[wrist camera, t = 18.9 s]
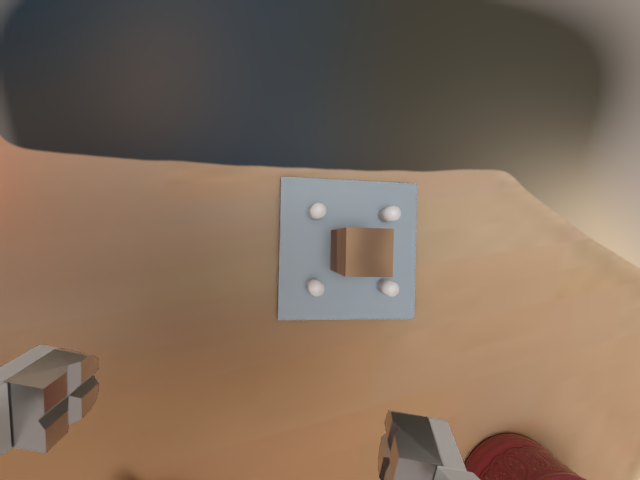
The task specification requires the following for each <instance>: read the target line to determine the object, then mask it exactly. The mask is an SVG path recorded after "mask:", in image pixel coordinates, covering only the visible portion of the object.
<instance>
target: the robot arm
mask: <svg viewBox="0 0 640 480" xmlns="http://www.w3.org/2000/svg"><path fill="white" fill-rule="evenodd" d="M98 369H99V363H98V358H97V357H96V356H95V355H93V354H88V353H83V352H78V351H74V350H69V349H64V348H58V347H54V346H49V345H38V346H36V347H34V348H33V349H31V350H29V351H27V352H26V353H24V354H22V355H20V356H19V357H17V358H15V359H13V360H12V361H10V362H8V363H7V364H5V365H3V366H1V367H0V455H2V454H4V453H6V452H8V451H10V450H11V449H12V447H13V448H19V449H25V450H31V451H37V452H43V453H47V452H48V451H49V450H50V449H51V448H52V447H53V446H54V445H55V444H56V443H57V442H58V441H59V440H60V439H61V438H62V437H63V436H65V435H66V434H67V433H68V429H69V424H72V423H74V422H76V421H79V420H81V419H82V418H83V417H84V416H85V415H86V414H87V413H88V412H89V411H90V410H91V408H92V406H93V405H94V403H95V401H96V399H97V395H98V391H99V383H98V381H97V380H96V378H95V376H94V374H95V373H96V371H97V370H98ZM385 430H386V433H385V434H384V435H383V436H382V437H381V441H380V446H379V455H378V472H379V478H380V479H381V480H480V479H479V478H478V477H477V476H476V475H475V474H474V473H473V472H468V471H467V470H466V467H465V465H464V462H463V460H462V457H461V455H460V452H459V450H458V447H457V444H456V442H455V439H454V437H453V434H452V432H451V429H450V427H449V424H448V422H447V421H446V420H445V419H442V418H436V417H429V416H426V417H425V416H419V415H414V414H408V413H403V412H397V411H392V410H388V412H387V415H386V419H385Z"/></svg>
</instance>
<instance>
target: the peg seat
mask: <svg viewBox="0 0 640 480" xmlns="http://www.w3.org/2000/svg"><path fill="white" fill-rule="evenodd" d="M416 216H417V184H415V183H395V182H376V181H356V180H337V179H317V178H298V177H281V197H280V237H279V277H278V320H346V319H414V306H415V261H416ZM345 227H353V228H387V229H394V245H393V277H345V276H343V275H340V274H338V273H336V272H334V271H332V270H330V250H331V230H334V229H340V228H345Z"/></svg>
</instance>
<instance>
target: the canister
mask: <svg viewBox="0 0 640 480" xmlns="http://www.w3.org/2000/svg"><path fill="white" fill-rule="evenodd" d="M465 467H466V470H467V471H468V472H473V473H474V474H475V475H476V476H477V477H478V478H479V479H480V480H586V479H584V478H582V477H580V476H579V475H577V474H576V473H575V472H573V471H572V470H571V469H569V468H568V467H567V466H566V465H564V464H563V463H562V462H560V461H559V460H558V459H556V458H555V457H554V456H553V455H552V454H551V453H550V452H549V451H548V450H547V449H546V448H544V447H543V446H541V445H540V444H539V443H537V442H535V441H533V440H531V439H528V438H526V437H524V436H522V435H518V434H512V433H506V434H499V435H496V436H493V437H491V438H489V439H487V440H485V441H484V442H482V443H481V444H480V445H479V446H478V447H477V448H476V449H475V450H474V451H473V452H472V453H471V455H470V456H469V458H468V459H467V461H466V463H465Z"/></svg>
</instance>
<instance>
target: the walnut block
mask: <svg viewBox="0 0 640 480" xmlns="http://www.w3.org/2000/svg"><path fill="white" fill-rule="evenodd" d="M393 245H394V229H387V228H353V227H345V228H340V229H334V230H331V250H330V270H332V271H334V272H336V273H338V274H340V275H343V276H345V277H393Z"/></svg>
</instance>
